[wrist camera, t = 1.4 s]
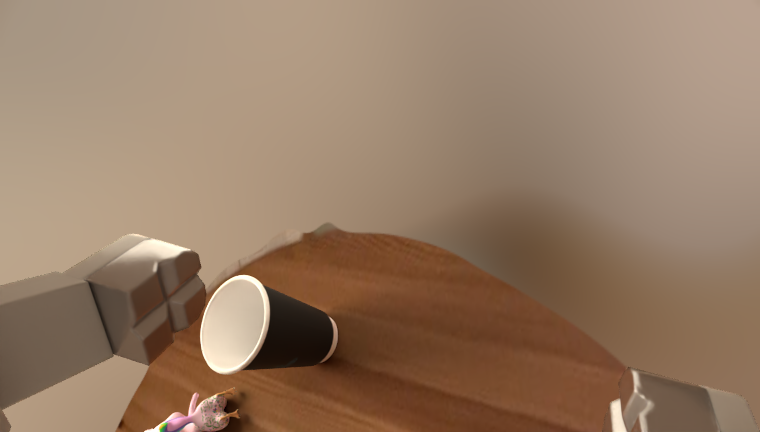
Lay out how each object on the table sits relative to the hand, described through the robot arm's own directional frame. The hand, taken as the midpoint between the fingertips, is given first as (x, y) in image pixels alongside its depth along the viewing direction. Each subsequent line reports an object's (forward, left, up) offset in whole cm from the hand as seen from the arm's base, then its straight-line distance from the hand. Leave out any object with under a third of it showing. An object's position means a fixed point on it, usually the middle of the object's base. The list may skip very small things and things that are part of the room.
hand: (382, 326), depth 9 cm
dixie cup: (+26, 0, -29) cm, 39 cm away
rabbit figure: (+41, +12, -29) cm, 52 cm away
